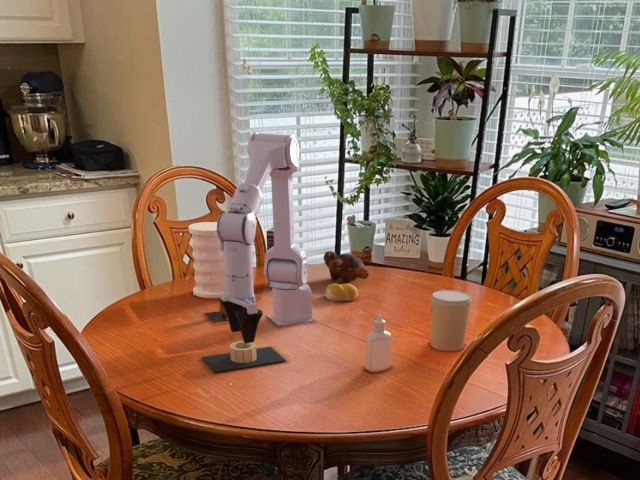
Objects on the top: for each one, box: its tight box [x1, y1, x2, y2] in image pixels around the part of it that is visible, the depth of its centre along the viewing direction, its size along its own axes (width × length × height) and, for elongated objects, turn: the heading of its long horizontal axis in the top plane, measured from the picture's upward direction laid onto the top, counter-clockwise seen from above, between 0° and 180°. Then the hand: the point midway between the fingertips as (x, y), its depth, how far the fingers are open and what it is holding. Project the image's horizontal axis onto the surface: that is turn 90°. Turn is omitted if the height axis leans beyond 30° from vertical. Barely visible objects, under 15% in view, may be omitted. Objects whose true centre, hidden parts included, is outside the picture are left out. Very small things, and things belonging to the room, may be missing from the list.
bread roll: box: [324, 283, 359, 302], centre depth 198 cm, size 8×9×4 cm
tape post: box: [204, 298, 229, 324], centre depth 180 cm, size 8×8×5 cm
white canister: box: [430, 289, 473, 352], centre depth 166 cm, size 9×9×12 cm
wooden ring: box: [229, 340, 257, 363], centre depth 156 cm, size 6×6×3 cm
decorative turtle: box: [323, 250, 370, 284], centre depth 211 cm, size 10×15×8 cm, turn 67°
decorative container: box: [187, 221, 226, 299], centre depth 194 cm, size 12×12×18 cm
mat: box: [202, 346, 286, 374], centre depth 157 cm, size 16×9×1 cm, turn 117°
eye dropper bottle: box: [365, 313, 393, 373], centre depth 152 cm, size 4×6×12 cm
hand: (242, 336), depth 154 cm, fingers open, 7 cm apart
